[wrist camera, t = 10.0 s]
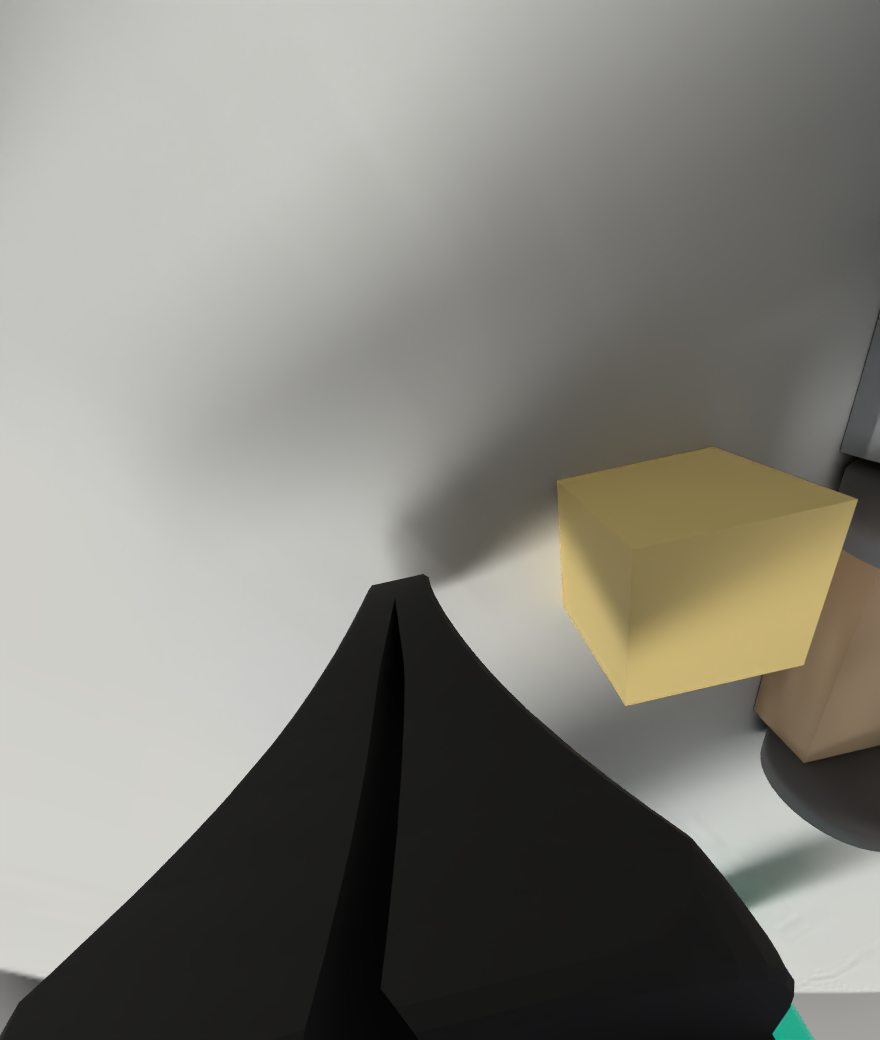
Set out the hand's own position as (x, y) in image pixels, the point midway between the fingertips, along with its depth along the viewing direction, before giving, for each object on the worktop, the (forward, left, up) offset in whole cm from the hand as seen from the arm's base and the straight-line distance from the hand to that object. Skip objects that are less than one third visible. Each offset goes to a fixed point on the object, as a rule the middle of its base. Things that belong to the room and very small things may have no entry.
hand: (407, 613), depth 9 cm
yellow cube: (0, -6, -1) cm, 6 cm away
